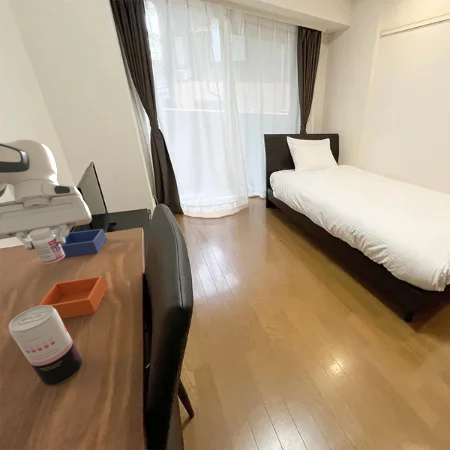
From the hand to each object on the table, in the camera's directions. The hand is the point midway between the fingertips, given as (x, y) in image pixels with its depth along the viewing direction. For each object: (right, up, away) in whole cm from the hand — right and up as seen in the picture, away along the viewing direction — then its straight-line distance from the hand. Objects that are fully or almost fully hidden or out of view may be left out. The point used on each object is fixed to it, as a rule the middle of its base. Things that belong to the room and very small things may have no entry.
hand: (45, 246), depth 68 cm
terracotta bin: (+4, -16, +5) cm, 17 cm away
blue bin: (-15, -3, +31) cm, 34 cm away
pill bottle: (0, -4, +3) cm, 5 cm away
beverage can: (+15, -25, -12) cm, 32 cm away
